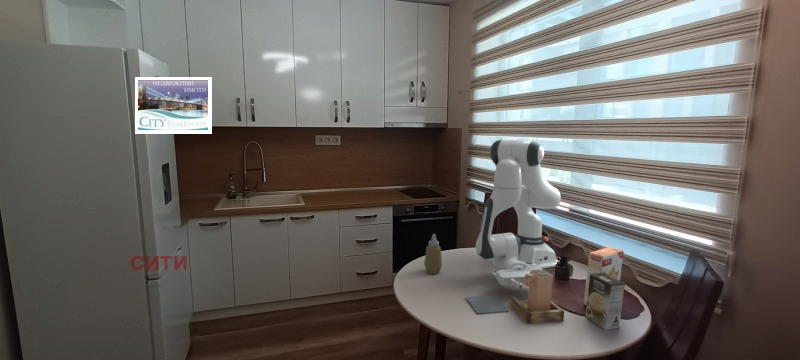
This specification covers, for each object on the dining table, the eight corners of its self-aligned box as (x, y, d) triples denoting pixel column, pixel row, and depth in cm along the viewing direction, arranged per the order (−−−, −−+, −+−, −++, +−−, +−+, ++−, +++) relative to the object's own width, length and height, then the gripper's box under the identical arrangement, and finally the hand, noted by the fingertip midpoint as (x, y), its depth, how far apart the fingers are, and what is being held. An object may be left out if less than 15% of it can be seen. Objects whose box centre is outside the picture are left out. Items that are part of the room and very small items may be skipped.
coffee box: (584, 316, 129) (588, 273, 127) (598, 314, 131) (603, 271, 128) (605, 330, 120) (610, 284, 118) (620, 327, 122) (625, 282, 120)
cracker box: (598, 311, 133) (604, 256, 130) (582, 304, 138) (587, 251, 135) (618, 302, 140) (624, 250, 137) (603, 296, 145) (608, 245, 142)
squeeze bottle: (440, 276, 162) (442, 237, 159) (422, 274, 163) (423, 235, 161) (442, 269, 170) (443, 232, 167) (425, 267, 171) (426, 230, 168)
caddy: (540, 301, 140) (541, 292, 140) (563, 321, 126) (564, 311, 126) (508, 303, 138) (508, 294, 137) (527, 324, 124) (528, 313, 123)
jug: (541, 306, 135) (544, 269, 133) (549, 314, 130) (553, 275, 128) (519, 308, 134) (522, 270, 132) (527, 316, 129) (530, 276, 126)
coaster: (494, 296, 143) (495, 295, 143) (508, 311, 131) (509, 310, 131) (465, 298, 141) (465, 297, 141) (477, 314, 129) (477, 312, 129)
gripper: (491, 264, 147) (506, 279, 134) (537, 262, 151) (557, 276, 137) (490, 279, 148) (505, 295, 135) (536, 277, 152) (556, 292, 138)
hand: (532, 285), depth 136 cm, fingers open, 8 cm apart
